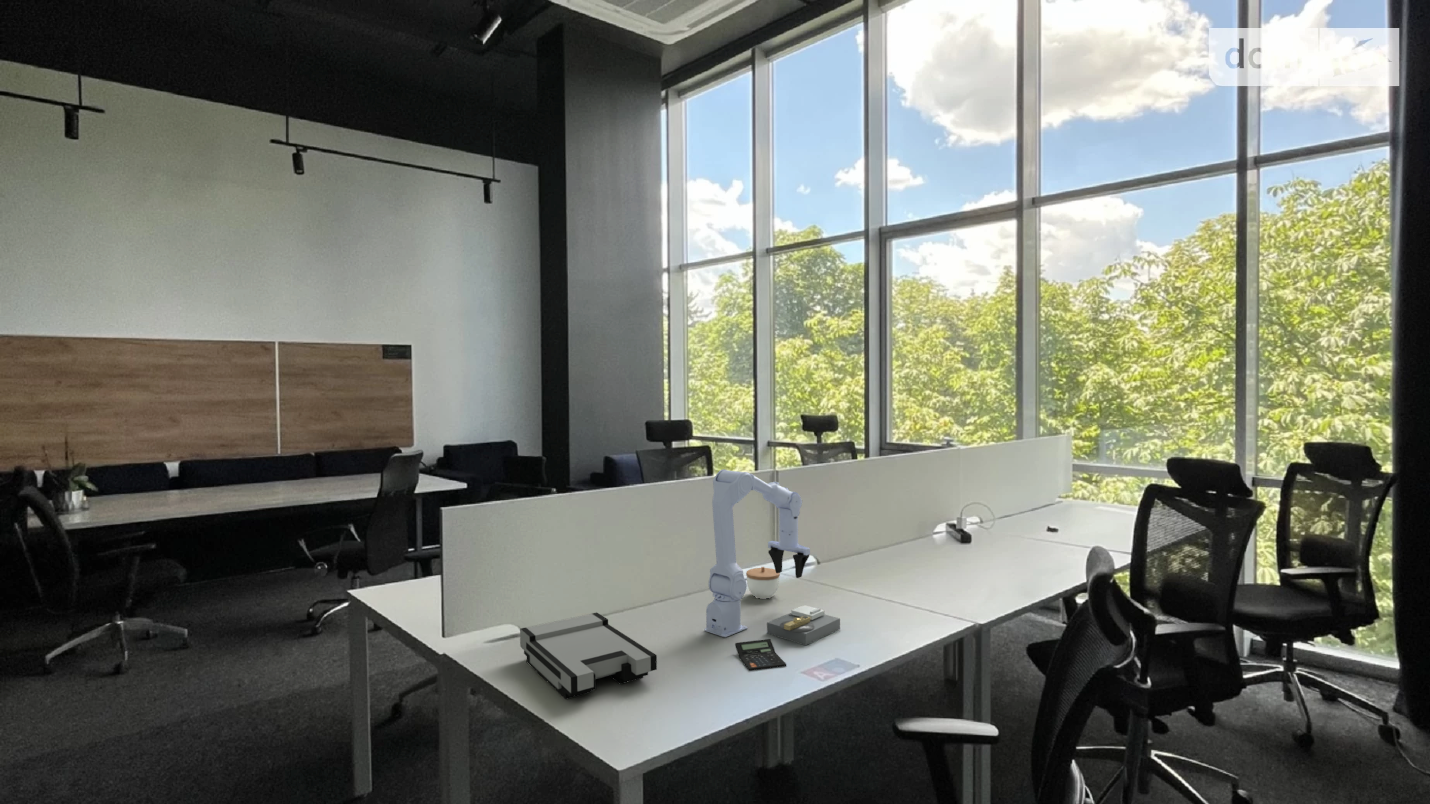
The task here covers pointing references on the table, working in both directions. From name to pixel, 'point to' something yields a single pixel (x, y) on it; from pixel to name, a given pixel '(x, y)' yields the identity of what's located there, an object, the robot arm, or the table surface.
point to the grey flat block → (804, 628)
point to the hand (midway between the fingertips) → (788, 574)
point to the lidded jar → (762, 582)
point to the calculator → (759, 655)
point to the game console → (583, 653)
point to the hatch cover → (807, 612)
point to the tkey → (796, 623)
